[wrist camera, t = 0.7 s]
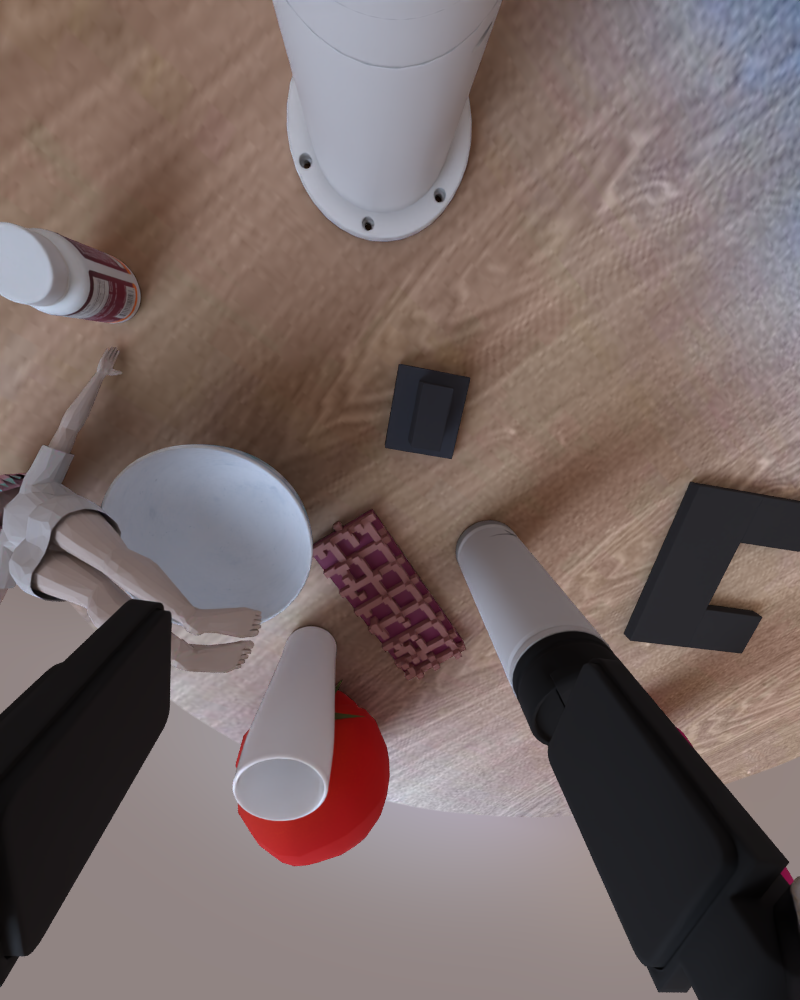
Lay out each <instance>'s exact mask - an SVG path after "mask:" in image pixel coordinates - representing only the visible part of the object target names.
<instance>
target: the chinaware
mask: <svg viewBox="0 0 800 1000" xmlns="http://www.w3.org/2000/svg"><path fill="white" fill-rule="evenodd" d="M101 508H102V509H103V510H104V511H105V512H106V513H107V514H108V515H109V516H110V517H111V518H112V519H113V520H114V521H115V522H116V523H117V525H118V527H119V529H120V531H121V539H122V540H123V542H124V543H125V545H126V546H127V548H128V549H130V550H132V551H134V552H136V553H139V554H141V555H143V556H145V557H147V558H149V559H151V560H152V561H153V562H155V563H156V564H157V565H159V567H160V568H161V569H162V570H163V571H164V573H165V574H166V575H167V576H168V577H169V578H170V580H171V581H172V582H173V583H174V584H175V586H176V587H177V588H178V589H179V590H180V591H181V593H182V594H183V595H184V596H185V597H186V598H187V600H188V601H189V602H190V603H191V604H192V606H194V607H196V608H199V609H222V608H238V607H246V608H250V609H254V610H259V611H260V612H262V613H261V615H260V616H262V618H261V619H260V620H261V621H262V622H261V623H263V622H266V621H268V620H270V619H271V618H273V617H275V616H276V615H278V614H279V613H281V612H282V611H283V610H284V609H286V608H287V607H288V606H289V605H290V604H291V603H292V602H293V601H294V599H295V598H296V597H297V596H298V594H299V593H300V591H301V590H302V588H303V586H304V584H305V582H306V580H307V578H308V575H309V572H310V568H311V564H312V556H313V539H312V531H311V526H310V522H309V518H308V515H307V512H306V510H305V507H304V505H303V503H302V501H301V499H300V497H299V496H298V494H297V493H296V491H295V490H294V488H293V487H292V486H291V484H290V483H289V482H288V481H287V480H286V479H285V478H284V477H283V476H282V475H281V474H280V473H279V472H278V471H276V470H275V469H274V468H273V467H271V466H270V465H268V464H267V463H265V462H264V461H262V460H260V459H258V458H257V457H255V456H252V455H250V454H248V453H245V452H242V451H240V450H236V449H233V448H229V447H224V446H218V445H209V444H186V445H177V446H171V447H167V448H163V449H159V450H156V451H154V452H151V453H149V454H146V455H144V456H142V457H141V458H139V459H137V460H136V461H134V462H133V463H131V464H130V465H129V466H127V467H126V468H125V469H124V470H123V471H122V472H121V473H120V474H119V475H118V476H117V477H116V478H115V480H114V481H113V482H112V484H111V485H110V487H109V488H108V490H107V492H106V494H105V496H104V499H103V502H102V505H101ZM126 592H127V591H126ZM127 593H128V594H129V595H130V596H131V597H132V598H133V599H138V600H141V599H139V598H137V597H136V596H134V595H132V594H130V593H129V592H127ZM172 623H174V624H177V625H180V626H182V624H181V623H180V622H178V621H177V620H175V619H173V618H172ZM261 623H260V624H261Z"/></svg>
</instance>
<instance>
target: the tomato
mask: <svg viewBox="0 0 800 1000" xmlns="http://www.w3.org/2000/svg"><path fill="white" fill-rule="evenodd" d="M342 680H343V679H342ZM342 680H341V681H340V682H339V683H338V684H337V686H336V687H335V735H334V750H333V760H332V768H331V775H330V781H329V787H328V793H327V796H326V798H325V800H324V802H323V803H322V804H321V805H320V806H319V807H318V808H317V809H316V810H315V811H313V812H312V813H310V814H308V815H306V816H304V817H301V818H298V819H294V820H288V821H272V820H266V819H262V818H259V817H256V816H254V815H252V814H250V813H248V812H247V811H245V810H244V809H243V808H242V807H241V806H240V805H239V804H238V813H239V815H240V816H241V818H242V819H243V821H244V823H245V824H246V826H247V827H248V829H249V831H250V832H251V834H252V835H253V837H254V838H255V840H256V841H257V843H258V844H259V845H260V846H261V847H262V848H263V849H265V850H266V851H268V852H269V853H270V854H271V855H273V856H274V857H275V858H277V859H278V860H279V861H281V862H282V863H286V864H289V865H292V866H303V865H310V864H314V863H318V862H321V861H324V860H327V859H330V858H333V857H336V856H339V855H342V854H343V853H345V852H346V851H348V850H350V849H351V848H353V847H355V846H356V845H357V844H358V843H360V842H361V841H362V840H363V839H364V838H365V837H366V836H367V835H368V833H369V832H370V830H371V829H372V827H373V826H374V825H375V823H376V822H377V820H378V819H379V817H380V815H381V812H382V809H383V806H384V803H385V800H386V796H387V791H388V784H389V777H390V773H389V757H388V751H387V746H386V744H385V742H384V739H383V737H382V735H381V732H380V730H379V728H378V725H377V723H376V721H375V720H374V718H373V717H372V716H371V715H370V714H369V713H368V712H367V711H366V710H365V709H363V708H359V707H358V706H357V704H356V703H355V702H354V701H353V700H352V699H350V698H349V697H348V696H347V695H346V694H344V693H343V692H341V691H339V690H338V688H339V686H340V684H341V682H342ZM248 732H249V730H248V731H247V732H246V734H245V735H244V736H243V740H242V743H241V747H240V751H239V754H238V758H237V761H236V768H237V766H238V762H239V759H240V756H241V752H242V749H243V746H244V743H245V740H246V737H247V735H248Z"/></svg>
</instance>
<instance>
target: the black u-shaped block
mask: <svg viewBox="0 0 800 1000" xmlns="http://www.w3.org/2000/svg"><path fill="white" fill-rule="evenodd" d="M740 543H746V544H753V545H759V546H766V547H772V548H778V549H785V550H791V551H798V552H799V551H800V501H797V500H791V499H785V498H780V497H774V496H768V495H763V494H757V493H751V492H746V491H740V490H734V489H728V488H723V487H717V486H711V485H706V484H700V483H694V482H690V484H689V486H688V489H687V491H686V493H685V495H684V498H683V500H682V502H681V505H680V507H679V509H678V511H677V514H676V516H675V518H674V520H673V523H672V525H671V527H670V530H669V532H668V534H667V536H666V539H665V541H664V543H663V545H662V548H661V550H660V552H659V555H658V557H657V559H656V561H655V564H654V566H653V568H652V570H651V573H650V575H649V577H648V580H647V582H646V584H645V586H644V589H643V591H642V593H641V595H640V598H639V600H638V602H637V605H636V607H635V609H634V611H633V614H632V616H631V618H630V621H629V623H628V625H627V627H626V630H625V632H624V634H625V635H626V637H627V638H628V639H629V640H630V641H638V642H647V643H656V644H664V645H673V646H681V647H690V648H699V649H708V650H716V651H725V652H733V653H742V652H743V651H744V649H745V647H746V645H747V643H748V642H749V640H750V638H751V636H752V635H753V633H754V631H755V629H756V628H757V626H758V624H759V622H760V621H761V619H762V616H760V615H759V614H757V613H756V612H754V611H751V610H743V609H736V608H728V607H721V606H713V605H709V603H710V601H711V599H712V597H713V595H714V593H715V591H716V589H717V587H718V585H719V583H720V581H721V579H722V577H723V575H724V573H725V571H726V569H727V568H728V566H729V564H730V562H731V560H732V558H733V556H734V554H735V552H736V550H737V548H738V546H739V544H740Z"/></svg>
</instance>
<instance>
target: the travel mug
mask: <svg viewBox="0 0 800 1000" xmlns="http://www.w3.org/2000/svg"><path fill="white" fill-rule="evenodd" d="M456 559H457V561H458V564H459V566H460V568H461V571H462V573H463V575H464V578H465V580H466V582H467V585H468V587H469V589H470V592H471V594H472V596H473V599H474V601H475V603H476V606H477V608H478V610H479V613H480V615H481V617H482V620H483V622H484V624H485V627H486V629H487V631H488V634H489V636H490V638H491V641H492V643H493V645H494V648H495V650H496V652H497V655H498V657H499V659H500V662H501V664H502V666H503V668H504V671H505V673H506V675H507V678H508V680H509V682H510V685H511V687H512V689H513V692H514V694H515V696H516V697H517V699H518V701H519V703H520V705H521V708H522V710H523V713H524V715H525V717H526V720H527V722H528V724H529V726H530V729H531V731H532V733H533V735H534V736H535V737H536V739H537V740H539V741H540V742H542V743H543V744H545V745H548V746H549V743H550V741H551V738H552V736H553V734H554V731H555V729H556V727H557V724H558V722H559V720H560V717H561V715H562V713H563V710H564V708H565V706H566V703H567V701H568V699H569V696H570V694H571V692H572V689H573V687H574V685H575V682H576V680H577V678H578V675H579V673H580V671H581V669H582V667H583V665H584V664H586V663H588V662H589V661H590V660H591V659H592V658H602V659H609V660H617V661H619V662H621V661H620V660H619V659H618V658H617V657H616V656H615V655H614V653H613V651H612V650H611V649H610V647H609V645H608V644H607V643H606V642H605V640H604V639H603V638H602V637H601V636H600V634H599V633H598V632H597V631H596V630H595V628H594V627H593V626H592V625H591V624H590V622H589V621H588V620H587V619H586V618H585V617H584V615H583V614H582V613H581V612H580V611H579V609H578V608H577V607H576V606H575V605H574V603H573V602H572V601H571V600H570V599H569V597H568V596H567V595H566V594H565V593H564V591H563V590H562V589H561V588H560V587H559V586H558V584H557V583H556V582H555V581H554V580H553V578H552V577H551V576H550V575H549V574H548V572H547V571H546V570H545V569H544V568H543V566H542V565H541V564H540V563H539V562H538V560H537V559H536V558H535V557H534V556H533V555H532V553H531V552H530V551H529V550H528V549H527V547H526V546H525V545H524V544H523V543H522V541H521V540H520V539H519V538H518V537H517V535H516V534H515V533H514V532H513V531H512V530H511V529H510V528H509V527H508V526H507V525H505V524H504V523H501V522H498V521H493V520H489V521H481V522H478V523H476V524H473V525H472V526H470V527H469V528H467V529H466V530H465V531H464V532H463V533H462V535H461V536H460V538H459V540H458V542H457V545H456ZM621 663H622V662H621ZM622 664H623V663H622ZM627 670H628V669H627Z"/></svg>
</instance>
